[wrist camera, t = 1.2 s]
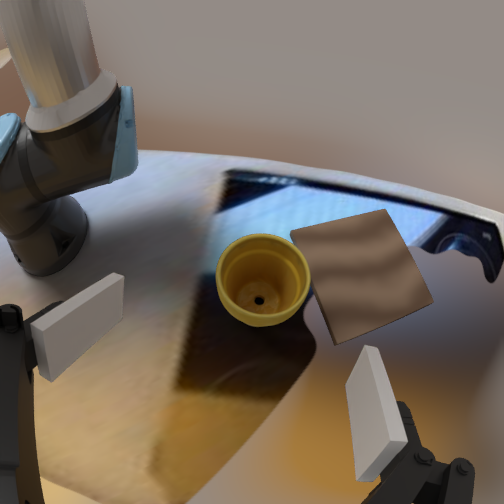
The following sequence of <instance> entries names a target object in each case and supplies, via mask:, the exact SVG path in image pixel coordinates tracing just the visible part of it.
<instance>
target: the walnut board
mask: <svg viewBox="0 0 504 504" xmlns="http://www.w3.org/2000/svg"><path fill="white" fill-rule="evenodd" d="M290 237H291V239H292V241H293V244H294V245H295V246H296V247H297V248H298V249H299V250H300V251H301V253H302V254H303V255H304V257H305V259H306V261H307V263H308V266H309V269H310V275H311V282H310V285H311V287H312V290H313V292H314V295H315V297H316V300H317V302H318V304H319V307H320V309H321V312H322V314H323V317H324V320H325V322H326V325H327V327H328V330H329V332H330V335H331V338H332V340H333V343H334V345H338V344H341V343H343V342H346V341H348V340H351V339H353V338H356V337H358V336H361V335H363V334H366V333H368V332H370V331H373V330H375V329H377V328H380V327H382V326H385V325H387V324H389V323H392V322H394V321H396V320H398V319H400V318H403V317H405V316H407V315H409V314H411V313H413V312H415V311H417V310H420V309H422V308H424V307H426V306H428V305H430V304H432V303H433V302H434V301H433V298H432V296H431V294H430V292H429V290H428V288H427V286H426V283H425V281H424V279H423V277H422V275H421V273H420V271H419V269H418V267H417V265H416V263H415V261H414V259H413V257H412V255H411V254H410V252H409V250H408V248H407V246H406V244H405V242H404V240H403V239H402V237H401V235H400V233H399V231H398V230H397V228H396V226H395V224H394V223H393V221H392V219H391V217H390V216H389V214H388V212H387V210H386V209H381V210H377V211H373V212H368V213H364V214H360V215H355V216H351V217H347V218H342V219H338V220H334V221H330V222H325V223H321V224H317V225H313V226H308V227H304V228H300V229H296V230H291V232H290Z"/></svg>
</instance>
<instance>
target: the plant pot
mask: <svg viewBox="0 0 504 504" xmlns="http://www.w3.org/2000/svg"><path fill="white" fill-rule="evenodd" d="M310 282H311V275H310V269H309V266H308V263H307V261H306V259H305V257H304V255H303V254H302V253H301V251H300V250H299V249H298V248H297V247H296V246H295V245H293V244H292V243H291V242H289V241H287V240H286V239H284V238H281V237H279V236H275V235H271V234H251V235H247V236H244V237H242V238H239V239H237V240H236V241H234V242H233V243H231V244H230V245H229V246H228V247H227V248H226V249H225V250H224V252H223V253H222V255H221V256H220V258H219V261H218V263H217V268H216V284H217V290H218V294H219V297H220V300H221V302H222V304H223V305H224V307H225V308H226V310H227V311H228V312H229V313H230V314H231V315H232V316H234V317H235V318H236V319H238V320H240V321H242V322H244V323H245V324H247V325H250V326H254V327H262V326H271V325H275V324H279V323H281V322H283V321H285V320H287V319H288V318H290V317H291V316H292V315H293V314H294V313H295V312H296V311H297V310H298V309H299V308H300V306H301V305H302V303H303V302H304V300H305V298H306V296H307V294H308V291H309V288H310ZM257 297H260V298H262V299H263V300H264V303H263V304H262V305H257V304H256V303H255V301H254V300H255V298H257Z"/></svg>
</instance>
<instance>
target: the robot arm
mask: <svg viewBox="0 0 504 504" xmlns="http://www.w3.org/2000/svg"><path fill="white" fill-rule="evenodd" d="M0 24H1V27H2V31H3V34H4V37H5V40H6V42H7V45H8V48H9V51H10V54H11V56H12V59H13V62H14V64H15V67H16V69H17V72H18V74H19V77H20V79H21V82H22V84H23V86H24V89H25V91H26V93H27V96H28V98H29V100H30V102H31V105H30V107H29V110H28V112H27V115H26V122H24V123H21V119H20V117H18V116H17V115H16V114H14V113H8V114H5V115H3V116H1V117H0V232H1V233H2V234H3V235H4V236H5V237H6V238H7V241H8V243H9V245H10V248H11V250H12V252H13V254H14V257H15V259H16V261H17V262H18V263H19V265H20V266H21V267H23V268H24V269H25V270H26V271H27V272H29V273H30V274H33V275H36V276H46V275H50V274H53V273H55V272H57V271H59V270H61V269H62V268H63V267H65V266H66V265H67V264H68V263H69V262H70V261H71V260H72V259H73V258H74V257H75V256H76V254H77V253H78V251H79V250H80V248H81V246H82V244H83V242H84V239H85V236H86V231H87V219H86V215H85V213H84V211H83V209H82V207H81V206H80V204H79V203H78V202H77V201H76V200H75V199H74V198H73V197H71V196H69V195H70V194H74V193H77V192H80V191H84V190H87V189H91V188H94V187H98V186H101V185H105V184H110V183H112V182H113V181H115V180H118V179H121V178H124V177H127V176H130V175H131V174H132V173H133V172H134V171H135V170H136V169H137V166H138V150H137V138H136V125H135V113H134V100H133V89H132V87H130V86H121V87H120V88H119V87H118V83H117V79H116V77H115V75H114V74H113V73H112V72H109V71H107V70H104V69H101V68H99V64H98V60H97V56H96V52H95V48H94V44H93V40H92V35H91V31H90V26H89V22H88V18H87V13H86V7H85V2H84V0H0ZM124 278H125V276H122V275H119V274H116V273H114V272H113V273H111V274H110V275H108V276H106V277H105V278H103V279H101V280H100V281H98V282H96V283H95V284H93V285H91V286H90V287H88V288H86V289H85V290H83V291H81V292H80V293H78V294H76V295H75V296H73V297H72V298H70V299H68V300H67V301H65V302H63V301H59V302H55V303H52V304H50V305H49V306H47V307H46V308H45V309H42V310H41V311H40V312H37V313H36V314H34V315H33V316H31V317H29V318H28V319H26V320H25V321H23V315H22V309H21V308H20V307H19V306H17V305H14V304H5V305H2V306H0V504H45V502H44V498H43V493H42V488H41V481H40V474H39V467H38V459H37V450H36V439H35V425H34V373H33V368H34V367H36V366H37V365H38V369H39V374H40V375H41V376H42V377H44V378H45V379H47V380H49V381H50V382H53V381H54V380H55V379H56V378H57V377H58V376H59V375H60V374H62V373H63V372H64V371H65V370H66V369H67V368H68V367H69V366H70V365H71V364H73V363H74V362H75V361H76V360H77V359H78V358H79V357H80V356H81V355H82V354H84V353H85V352H86V351H87V350H88V349H89V348H90V347H91V346H92V345H94V344H95V343H96V342H97V341H98V340H99V339H100V338H101V337H103V336H104V335H105V334H106V333H107V332H108V331H109V330H110V329H112V328H113V327H114V326H115V325H116V324H117V323H118V322H120V321H121V320H122V312H123V292H124ZM345 387H346V394H347V402H348V409H349V417H350V424H351V433H352V442H353V452H354V463H355V474H356V481H362V482H373V481H374V480H375V479H376V478H377V477H378V476H379V475H380V477H381V482H380V483H379V485H377V486H376V487H375V488H374V489H373V490H372V491H371V492H370V493H369V495H368V497H367V498H366V499H365V500H364V501H363V502H362V503H361V504H411V503H414V504H472V497H473V488H474V478H475V470H474V467H473V465H472V464H471V463H470V462H469V461H468V460H466V459H464V458H456V459H454V460H453V461H452V462H451V463H450V464H445V463H441V462H438V461H436V460H435V457H434V455H433V453H432V452H430V450H428V449H427V448H424V447H422V445H421V442H420V439H419V436H418V433H417V430H416V426H414V421H413V419H412V415H411V412H410V409H409V408H408V407H407V406H406V404H405V403H404V402H401V401H396V400H395V397H394V394H393V391H392V388H391V385H390V382H389V379H388V376H387V373H386V370H385V367H384V364H383V361H382V359H381V356H380V353H379V350H378V348H376V347H372V346H367V345H364V347H363V349H362V352H361V354H360V356H359V358H358V360H357V362H356V364H355V366H354V368H353V370H352V372H351V375H350V376H349V378H348V380H347V382H346V384H345Z"/></svg>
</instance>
